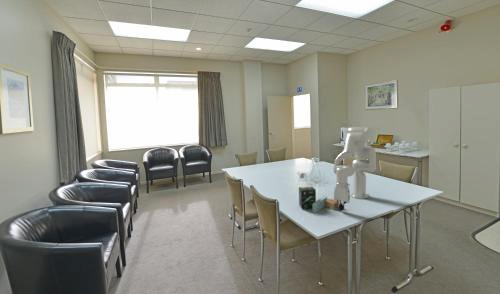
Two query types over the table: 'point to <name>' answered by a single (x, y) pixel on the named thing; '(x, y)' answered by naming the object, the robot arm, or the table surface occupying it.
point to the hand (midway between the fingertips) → (341, 209)
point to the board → (319, 204)
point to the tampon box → (307, 197)
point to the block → (331, 204)
